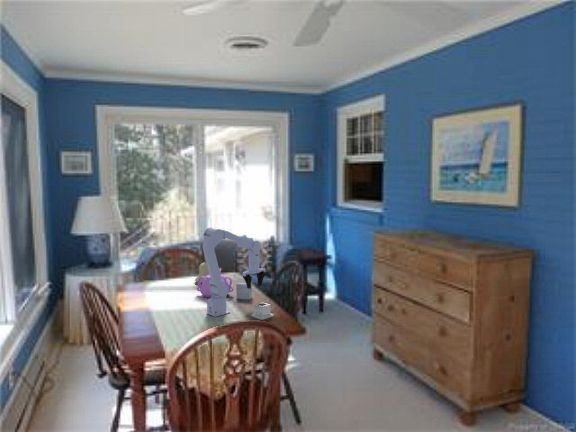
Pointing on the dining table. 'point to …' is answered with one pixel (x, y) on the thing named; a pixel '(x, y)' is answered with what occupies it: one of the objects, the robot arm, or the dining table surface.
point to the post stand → (263, 316)
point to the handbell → (203, 271)
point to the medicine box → (243, 291)
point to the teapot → (205, 285)
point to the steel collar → (262, 309)
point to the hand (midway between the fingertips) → (254, 286)
